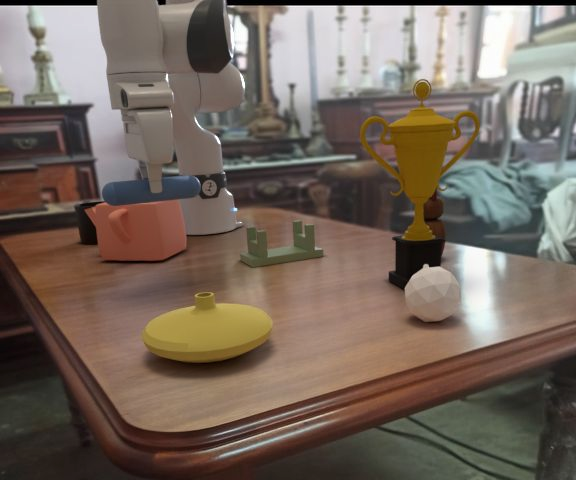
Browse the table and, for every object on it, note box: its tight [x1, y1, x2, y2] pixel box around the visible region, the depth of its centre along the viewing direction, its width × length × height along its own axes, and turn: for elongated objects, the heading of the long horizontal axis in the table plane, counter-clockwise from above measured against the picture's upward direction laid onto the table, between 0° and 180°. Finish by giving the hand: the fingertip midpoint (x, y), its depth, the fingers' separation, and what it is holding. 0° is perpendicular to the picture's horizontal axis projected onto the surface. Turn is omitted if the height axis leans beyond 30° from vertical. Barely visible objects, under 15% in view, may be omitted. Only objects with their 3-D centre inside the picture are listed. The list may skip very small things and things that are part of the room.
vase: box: [141, 291, 274, 364], centre depth 70 cm, size 16×16×7 cm
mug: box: [74, 200, 105, 245], centre depth 145 cm, size 9×12×9 cm
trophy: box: [359, 78, 481, 290], centre depth 89 cm, size 19×10×30 cm, turn 105°
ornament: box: [404, 264, 462, 323], centre depth 77 cm, size 7×7×8 cm
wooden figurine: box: [423, 188, 447, 257], centre depth 106 cm, size 7×6×15 cm
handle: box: [101, 175, 201, 206], centre depth 93 cm, size 16×4×4 cm, turn 113°
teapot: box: [85, 199, 188, 262], centre depth 124 cm, size 20×22×14 cm
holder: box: [239, 219, 324, 268], centre depth 115 cm, size 7×15×6 cm, turn 114°
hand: (152, 190), depth 93 cm, fingers closed on handle, 3 cm apart
